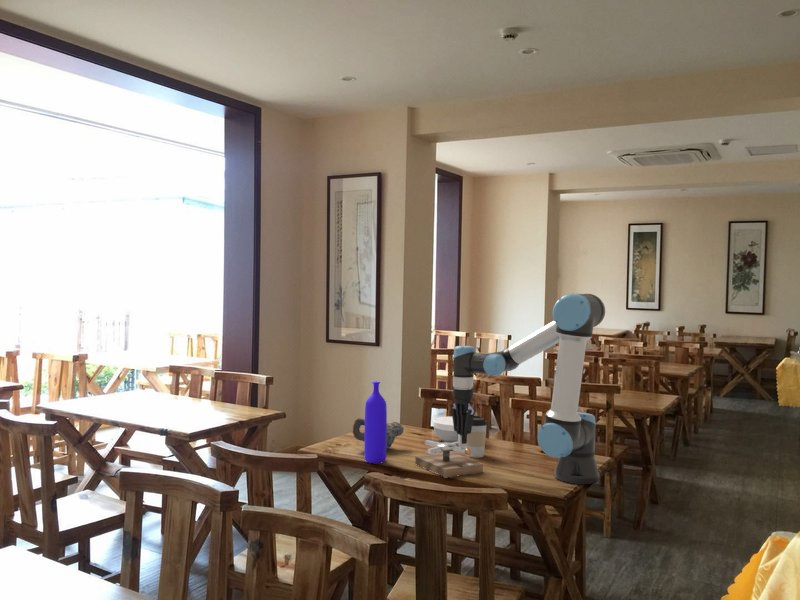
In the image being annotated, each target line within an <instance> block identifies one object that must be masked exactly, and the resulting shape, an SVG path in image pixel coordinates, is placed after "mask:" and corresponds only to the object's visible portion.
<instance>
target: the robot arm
mask: <svg viewBox="0 0 800 600" xmlns="http://www.w3.org/2000/svg"><path fill="white" fill-rule="evenodd" d="M605 315H606V307H605V304H604V302H603V300H602V299H601V298H600V297H598V296H597V295H595V294H593V293H574V292H572V293H569V294H566V295H563V296H562V297H560V298H558V300H556V302H555V304H554V305H553V307H552V319H553V320H552V321H551V322H549V323H547V324H545V325H544V326H542V327H540V328H537V330H535V331H533V332H532V333H530V334H528V335H526V336H525V337H523V338H521V339H520V340H518V341H516V342H515V343H513V344H511V345H510V346H508V347H506V348H505V349H503V350H501V351H495V352H488V353H486V352H476V351H475V348H474V346H473V345H472V346H471V345H455V347H454V348H453V357H452V359H453V360H452V362H453V368H452V369H453V374H452V375H453V376H452V387H453V388H452V398H453V399H454V403H453V404H450V409H451V416H452V417H453V426H454V431H456V432H457V434H458V446H457V447H461V448H466V443H467V434H471V430H472V424H473V418H474V416H475V414H476V412H477V410H476V409H475V408H473V406H472V400H473V399H474V389H473V388H474V375H475V374H479V375H480V374H481V375H486V376H487V375H488V376H500V375H501V376H502V374H503V373H504V372H511V371H513V370H516V369H517V368H518V367H519V366H520V365H521V364H522V363H524V362H526V361H528V360H530V359H531V358H533V357H535V356H537V355H538V354H541V353H542V352H544V351H545V350H548V349H550V348H551V347H553V346H555V345H556V344H558V350H557V351H558V352H557V356H556V357H557V359H556V365H555V374H554V380H553V381H554V382H553V390H552V397H551V398H552V399H551V405H550V409H549V410H547V411H546V412H545V415H544V417H545V418H544V424H543V425H542V426H540V428H539V429H538V432H537V443H538V446H539V447H540V449H541V450H542V451H543V453H545V454H546V455H547V456H549V457H550V458H554V459H556V458H557V459H558V461H557V464H556V467H555V468H554V477H555V479H557V480H558V479H559V481H561V482H564V481H565V482H564V483H568V482H569V484H576V485H578V484H579V485H588V484H595V483H598V482H599V481H600V472H599V470H598V465H597V461H596V457H595V456H596V455H595V452H596V449H595V448H596V446H595V445H596V426H597V424H596V417H595V415H594V414H592V413H587V412H580V411H578V409H579V401H580V395H581V387H582V386H581V385H582V379H583V372H584V366H585V365H584V362H585V356H586V355H585V354H586V348H587V342H588V341H589V340H590V339H592V338H593V332H594V328H596V327H597V326H598V325H600V324H601V323H602V322H603V320H604V318H605Z"/></svg>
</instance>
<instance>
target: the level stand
mask: <svg viewBox="0 0 800 600" xmlns="http://www.w3.org/2000/svg"><path fill="white" fill-rule="evenodd" d="M414 459H415V462H414V463H415V464H417V465H419V466H418V467H420V466H421V467H420V468H422V467H424V468H426V469H428V470H431V471H433V472H436V473H438V474H440V475H442V476H443V477H442V476H441V477H442V478H444V479H449V478H448V477H450V478H452V477H451V476H457V475H463V476H467V475H466V474H469V475H474V474H480V473H483V472H484V471H483V469H484V464H483V463H481V462H478V461H475V460H474V459H471V458H470V457H467V456H463V455H461V454H459V453H457V452H456V453H455V452H454V451H442V452H437V453H432V454H430V453H429V454H423V455H417V456H415V458H414ZM417 465H416V466H417ZM424 468H423V469H424ZM426 469H425V470H426ZM428 470H427V471H428ZM431 471H430V472H431ZM433 472H432V473H433ZM457 477H458V476H457Z"/></svg>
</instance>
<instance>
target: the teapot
mask: <svg viewBox="0 0 800 600" xmlns="http://www.w3.org/2000/svg"><path fill="white" fill-rule="evenodd" d="M361 426H364V427H365V417H358V418H356V419H354V422H353V426H352V434H353V436H354V438H355V439H356V440H357V441H361V442H364V439H365V431H364V432H363V431H362V432H361V431H360V428H361ZM404 431H405V428H404V426H403V425H402V424H401V423H400V422H398V421H391V422H387V438H386V450H388V449H389V448H391V447H392V444H393V443H394V442H395V439H396V438H397V437H399V436H400V437H401V436H402V434H403V433H404Z"/></svg>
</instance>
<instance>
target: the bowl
mask: <svg viewBox="0 0 800 600" xmlns="http://www.w3.org/2000/svg"><path fill="white" fill-rule="evenodd" d="M432 426H433V430H434V432H435V434H436V435H437V437H438V438H439V439H441V441H442V443H453V442H457V441H458V434H457V432H456V431H454V426H453V417H452V415H451V416H448V415H447V416H440V417H435V418H433V420H432Z"/></svg>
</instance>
